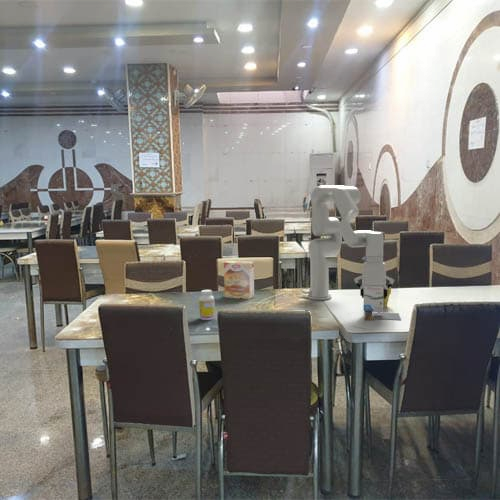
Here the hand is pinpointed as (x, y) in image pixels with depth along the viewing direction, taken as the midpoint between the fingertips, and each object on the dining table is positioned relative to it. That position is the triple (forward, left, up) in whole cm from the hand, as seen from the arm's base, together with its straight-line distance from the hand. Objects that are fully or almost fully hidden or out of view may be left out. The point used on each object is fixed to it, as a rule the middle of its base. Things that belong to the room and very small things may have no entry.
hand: (373, 297), depth 203 cm
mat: (+6, 0, -8) cm, 10 cm away
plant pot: (+4, +19, -9) cm, 21 cm away
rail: (-2, 0, -8) cm, 9 cm away
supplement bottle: (-73, -15, -9) cm, 75 cm away
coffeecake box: (-69, +30, -9) cm, 76 cm away
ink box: (0, 0, -6) cm, 6 cm away
